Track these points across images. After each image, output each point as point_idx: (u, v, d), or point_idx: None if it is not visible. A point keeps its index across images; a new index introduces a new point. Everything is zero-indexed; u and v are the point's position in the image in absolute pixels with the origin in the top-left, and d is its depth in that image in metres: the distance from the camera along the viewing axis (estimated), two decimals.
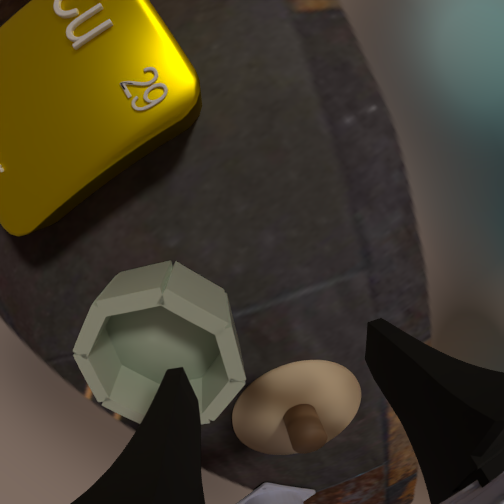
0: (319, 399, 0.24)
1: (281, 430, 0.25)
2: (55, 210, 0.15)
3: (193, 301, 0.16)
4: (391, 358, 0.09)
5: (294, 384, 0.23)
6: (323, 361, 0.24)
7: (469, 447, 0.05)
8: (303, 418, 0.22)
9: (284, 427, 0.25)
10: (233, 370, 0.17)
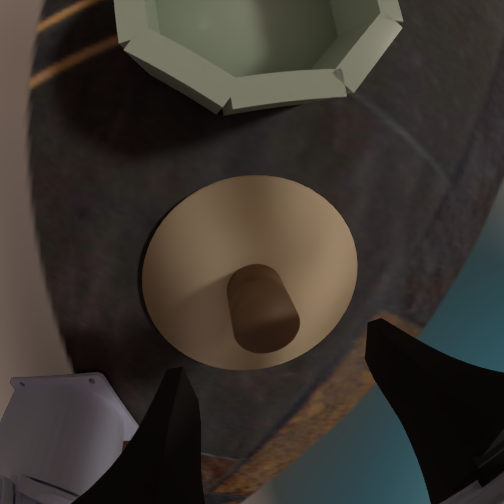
0: (297, 285, 0.17)
1: (210, 294, 0.16)
2: None
3: None
4: (391, 358, 0.09)
5: (299, 228, 0.16)
6: None
7: (469, 447, 0.05)
8: (279, 285, 0.14)
9: (218, 292, 0.16)
10: (355, 63, 0.08)
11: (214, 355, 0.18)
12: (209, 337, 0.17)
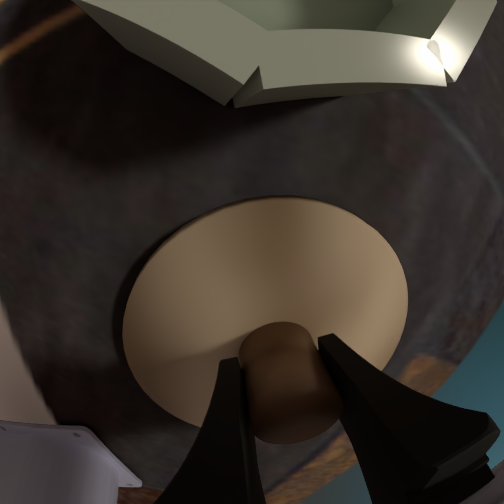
0: None
1: (216, 359, 0.12)
2: None
3: None
4: (337, 377, 0.09)
5: (341, 273, 0.11)
6: None
7: (403, 484, 0.05)
8: (315, 357, 0.10)
9: (228, 356, 0.12)
10: (453, 37, 0.04)
11: None
12: None
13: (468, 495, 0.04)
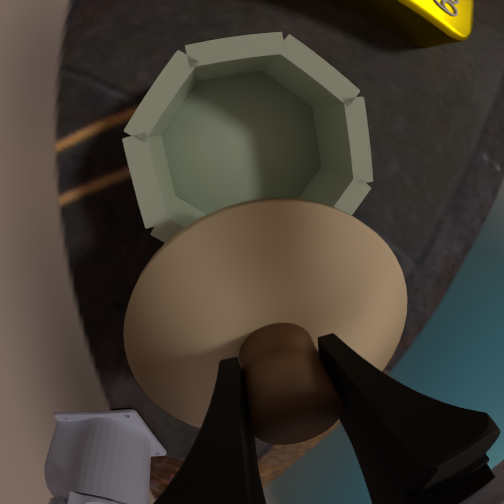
0: None
1: (217, 360, 0.12)
2: None
3: (366, 132, 0.12)
4: (337, 377, 0.09)
5: (341, 274, 0.11)
6: None
7: (403, 484, 0.05)
8: (315, 357, 0.10)
9: (228, 357, 0.12)
10: None
11: None
12: None
13: (468, 495, 0.04)
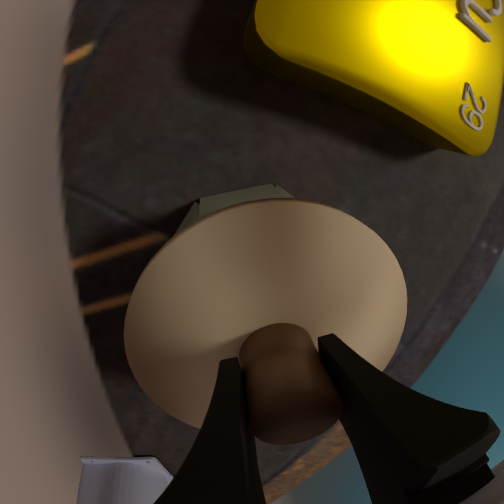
0: None
1: (217, 360, 0.12)
2: (336, 80, 0.11)
3: None
4: (337, 377, 0.09)
5: (340, 274, 0.11)
6: None
7: (403, 484, 0.05)
8: (315, 357, 0.10)
9: None
10: None
11: None
12: None
13: (468, 495, 0.04)
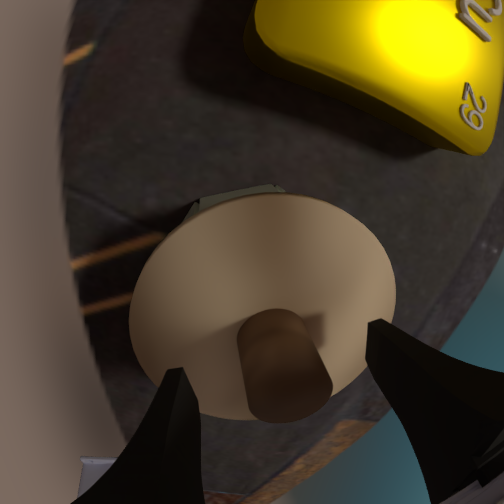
0: (324, 330, 0.13)
1: (216, 344, 0.13)
2: (336, 80, 0.11)
3: None
4: (391, 358, 0.09)
5: (331, 263, 0.12)
6: None
7: (469, 447, 0.05)
8: (306, 340, 0.11)
9: (226, 342, 0.13)
10: None
11: (221, 406, 0.14)
12: (215, 389, 0.14)
13: None
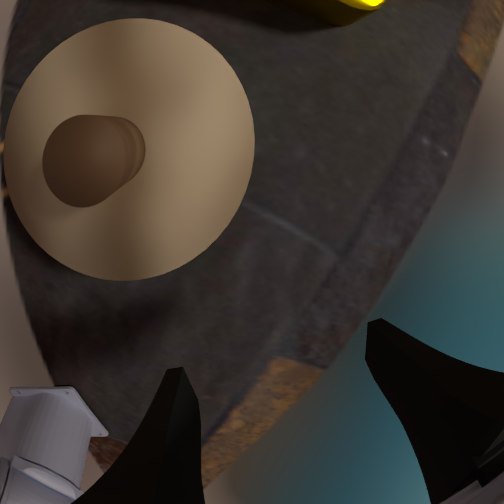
0: (166, 145, 0.12)
1: None
2: None
3: None
4: (391, 358, 0.09)
5: (163, 69, 0.10)
6: None
7: (469, 447, 0.05)
8: (118, 120, 0.09)
9: None
10: None
11: (75, 253, 0.13)
12: (66, 223, 0.12)
13: None
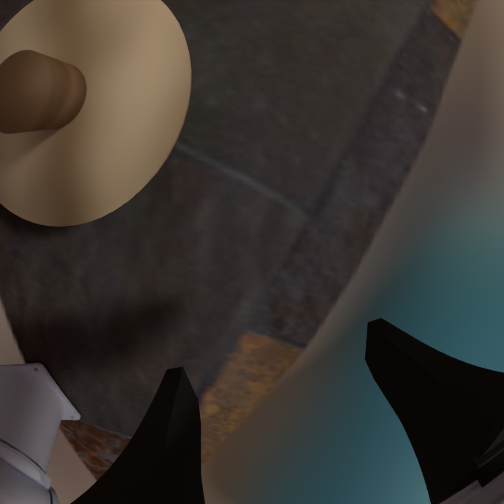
0: (105, 85, 0.10)
1: None
2: None
3: None
4: (391, 358, 0.09)
5: (106, 17, 0.09)
6: None
7: (469, 447, 0.05)
8: (56, 59, 0.08)
9: None
10: None
11: (23, 199, 0.11)
12: (16, 170, 0.11)
13: None
